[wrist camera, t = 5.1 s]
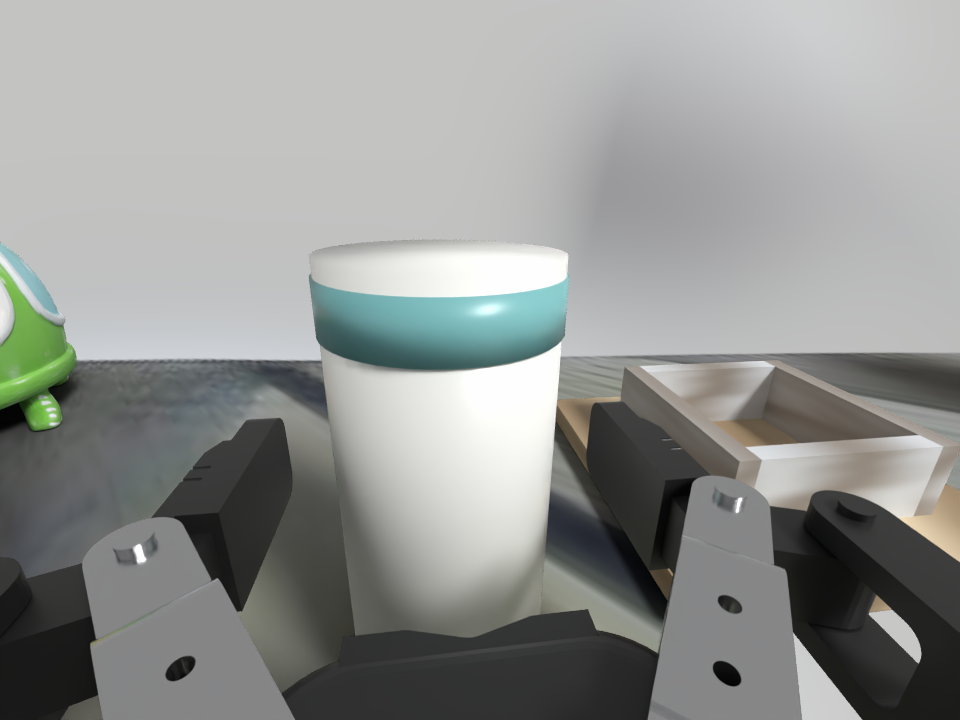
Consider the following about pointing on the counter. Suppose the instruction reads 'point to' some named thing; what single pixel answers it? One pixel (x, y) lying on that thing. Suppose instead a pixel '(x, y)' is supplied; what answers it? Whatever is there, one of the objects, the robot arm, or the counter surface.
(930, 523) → the wooden square holder
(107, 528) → the counter surface
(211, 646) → the robot arm
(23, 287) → the turtle holder
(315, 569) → the counter surface
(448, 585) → the cylindrical container
